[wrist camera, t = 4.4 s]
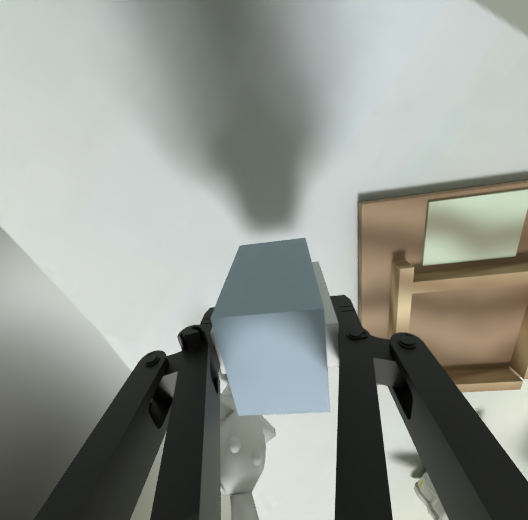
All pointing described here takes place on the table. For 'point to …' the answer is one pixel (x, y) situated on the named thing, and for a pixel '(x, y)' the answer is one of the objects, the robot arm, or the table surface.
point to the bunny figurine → (241, 455)
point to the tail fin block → (273, 331)
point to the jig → (451, 278)
